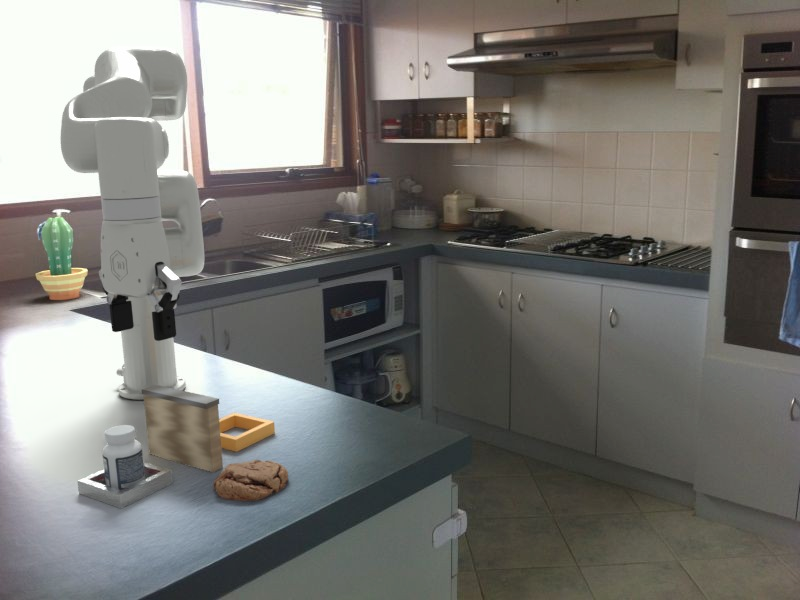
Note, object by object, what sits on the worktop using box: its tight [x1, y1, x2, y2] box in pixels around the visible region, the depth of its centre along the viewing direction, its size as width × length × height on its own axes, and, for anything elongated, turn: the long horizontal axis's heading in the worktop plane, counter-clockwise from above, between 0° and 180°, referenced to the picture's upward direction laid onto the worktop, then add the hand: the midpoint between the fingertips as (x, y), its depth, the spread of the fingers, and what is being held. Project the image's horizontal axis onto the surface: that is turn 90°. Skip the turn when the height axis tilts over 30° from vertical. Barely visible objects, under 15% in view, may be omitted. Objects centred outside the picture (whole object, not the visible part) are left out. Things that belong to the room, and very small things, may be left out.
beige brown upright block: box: [141, 385, 224, 473], centre depth 121 cm, size 14×3×11 cm, turn 57°
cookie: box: [212, 459, 289, 502], centre depth 113 cm, size 10×11×3 cm
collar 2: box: [219, 412, 276, 452], centre depth 131 cm, size 9×9×2 cm
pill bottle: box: [102, 424, 145, 490], centre depth 112 cm, size 5×5×9 cm
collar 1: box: [77, 461, 174, 509], centre depth 113 cm, size 9×9×2 cm
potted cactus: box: [35, 216, 88, 301], centre depth 248 cm, size 15×15×25 cm
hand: (143, 334), depth 111 cm, fingers open, 9 cm apart
